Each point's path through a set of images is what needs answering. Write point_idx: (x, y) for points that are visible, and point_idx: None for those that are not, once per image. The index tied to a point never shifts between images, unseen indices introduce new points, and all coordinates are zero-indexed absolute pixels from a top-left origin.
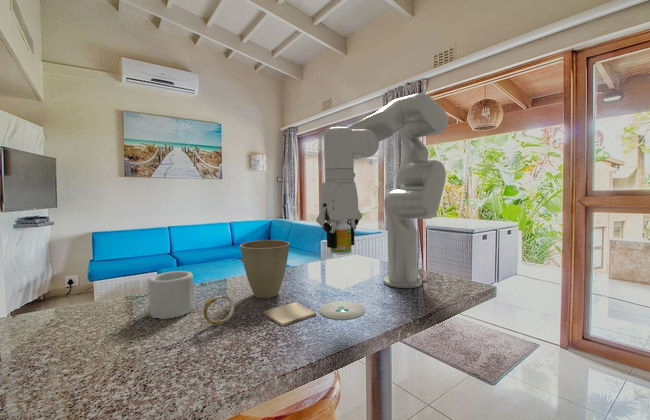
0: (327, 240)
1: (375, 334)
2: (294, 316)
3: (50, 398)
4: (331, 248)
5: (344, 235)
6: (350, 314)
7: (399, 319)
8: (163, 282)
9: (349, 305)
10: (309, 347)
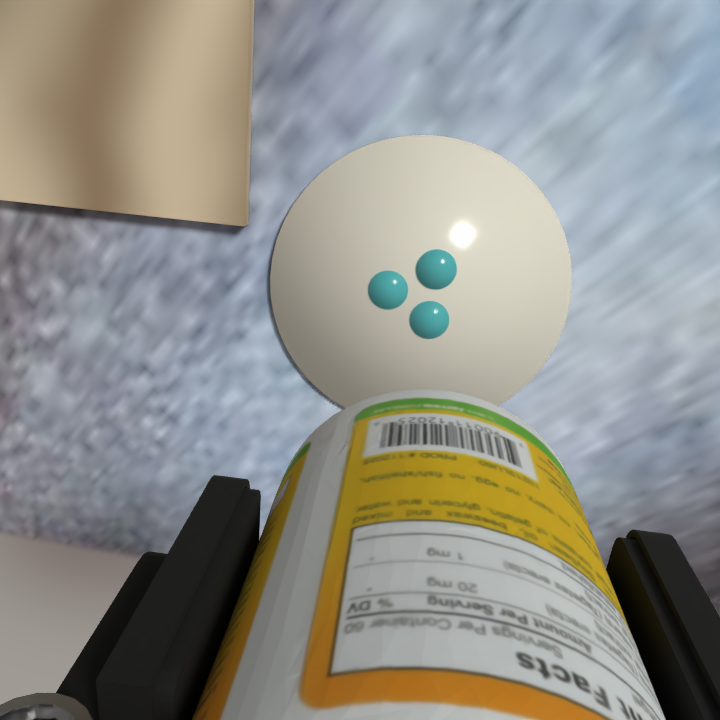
0: (123, 603)
1: None
2: (103, 168)
3: None
4: (274, 500)
5: None
6: (392, 381)
7: None
8: None
9: (505, 286)
10: (17, 456)
